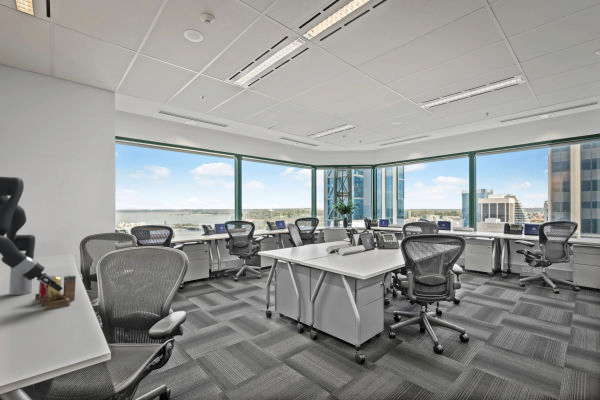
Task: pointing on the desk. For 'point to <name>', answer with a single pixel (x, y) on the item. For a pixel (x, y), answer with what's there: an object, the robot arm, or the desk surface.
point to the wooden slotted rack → (64, 298)
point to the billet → (52, 293)
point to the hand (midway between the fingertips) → (59, 288)
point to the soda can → (43, 289)
